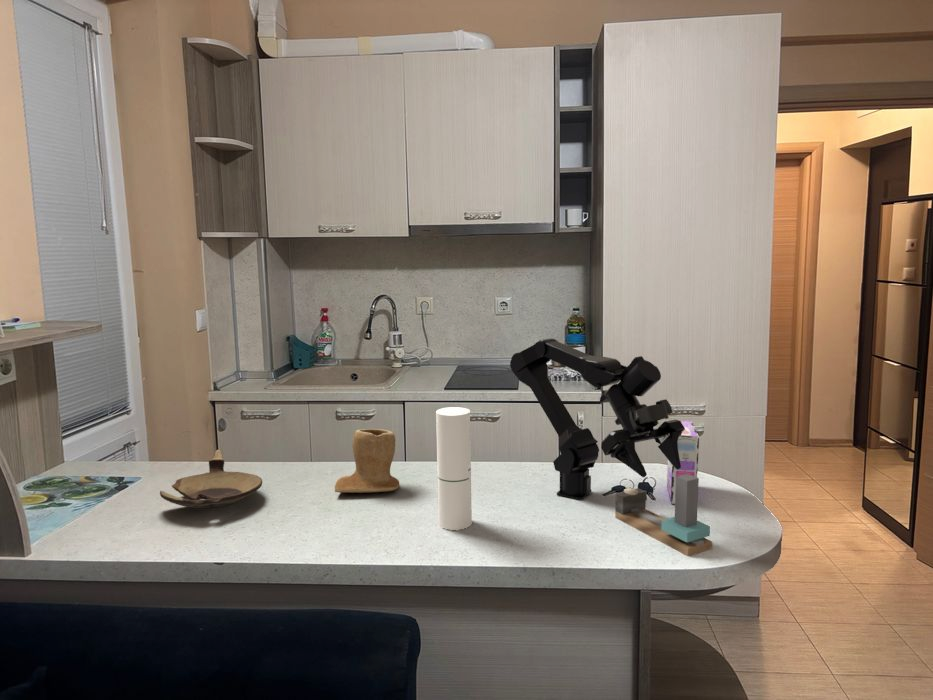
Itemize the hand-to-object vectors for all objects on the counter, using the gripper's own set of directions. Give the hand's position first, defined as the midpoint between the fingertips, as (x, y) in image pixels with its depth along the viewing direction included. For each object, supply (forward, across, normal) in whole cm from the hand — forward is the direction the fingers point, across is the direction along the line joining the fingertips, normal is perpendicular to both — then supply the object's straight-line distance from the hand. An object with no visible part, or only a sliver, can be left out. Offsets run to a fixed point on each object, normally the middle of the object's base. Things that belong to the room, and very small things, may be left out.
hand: (662, 472), depth 146 cm
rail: (+9, 0, +9) cm, 13 cm away
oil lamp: (-38, -78, +56) cm, 103 cm away
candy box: (0, +19, +19) cm, 27 cm away
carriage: (+12, 0, +3) cm, 12 cm away
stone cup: (-30, -44, +48) cm, 71 cm away
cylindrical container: (-9, -35, +27) cm, 45 cm away
